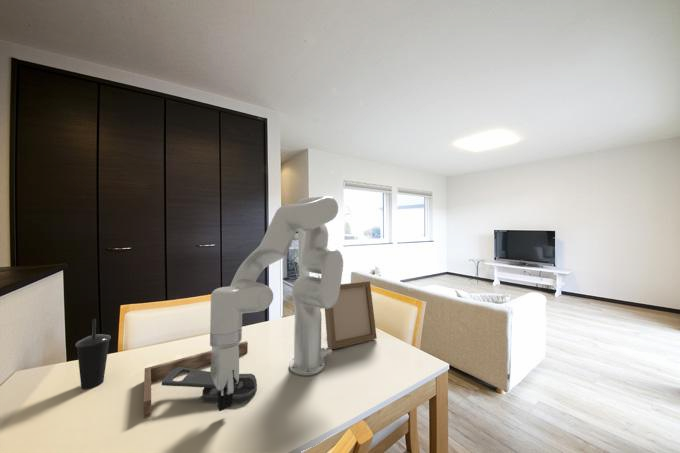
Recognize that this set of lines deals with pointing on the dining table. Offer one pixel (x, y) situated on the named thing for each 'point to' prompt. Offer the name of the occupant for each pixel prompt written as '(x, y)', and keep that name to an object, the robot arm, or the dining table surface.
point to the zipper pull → (213, 385)
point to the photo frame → (351, 316)
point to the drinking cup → (92, 358)
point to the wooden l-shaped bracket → (166, 368)
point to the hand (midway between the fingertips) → (224, 406)
